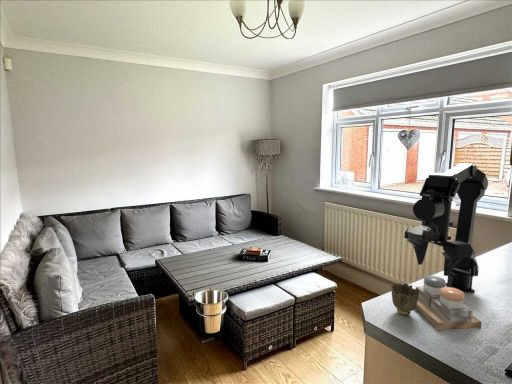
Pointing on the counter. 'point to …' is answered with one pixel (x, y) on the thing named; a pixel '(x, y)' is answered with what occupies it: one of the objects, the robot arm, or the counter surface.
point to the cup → (404, 298)
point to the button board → (444, 313)
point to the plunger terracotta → (452, 298)
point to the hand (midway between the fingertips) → (432, 269)
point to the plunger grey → (433, 284)
